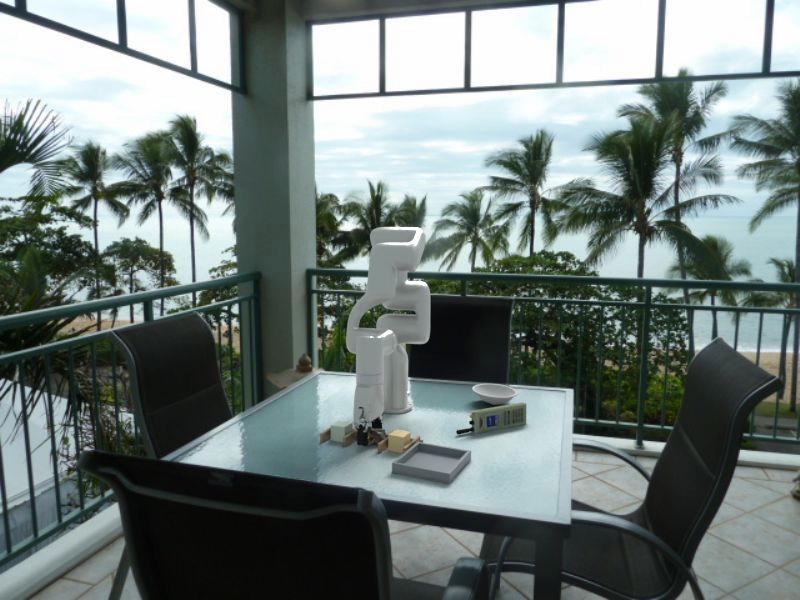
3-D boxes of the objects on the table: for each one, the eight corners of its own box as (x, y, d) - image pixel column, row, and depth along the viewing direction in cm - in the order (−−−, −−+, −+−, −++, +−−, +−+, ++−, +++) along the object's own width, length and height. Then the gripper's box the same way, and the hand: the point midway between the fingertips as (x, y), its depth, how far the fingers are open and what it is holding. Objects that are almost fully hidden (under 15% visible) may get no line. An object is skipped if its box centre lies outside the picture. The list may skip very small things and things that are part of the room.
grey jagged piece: (365, 453, 160) (366, 431, 158) (353, 443, 165) (353, 421, 163) (390, 445, 164) (390, 423, 162) (377, 434, 169) (377, 413, 167)
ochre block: (395, 445, 164) (395, 429, 163) (410, 447, 162) (410, 432, 161) (388, 450, 160) (388, 434, 159) (403, 453, 158) (403, 437, 157)
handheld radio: (528, 425, 182) (460, 438, 170) (520, 422, 184) (454, 435, 173) (528, 403, 181) (460, 415, 169) (521, 401, 184) (453, 412, 172)
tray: (417, 450, 160) (417, 441, 159) (470, 459, 153) (471, 450, 153) (392, 472, 145) (392, 462, 145) (449, 484, 139) (449, 473, 139)
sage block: (338, 435, 171) (338, 420, 171) (352, 437, 169) (352, 422, 169) (330, 440, 167) (330, 425, 167) (344, 442, 165) (344, 427, 165)
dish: (526, 409, 196) (527, 394, 196) (488, 414, 191) (489, 399, 190) (499, 395, 212) (499, 381, 212) (463, 399, 207) (463, 385, 207)
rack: (341, 429, 176) (341, 420, 176) (423, 442, 165) (423, 434, 165) (320, 442, 165) (319, 433, 165) (405, 457, 155) (405, 448, 154)
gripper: (372, 370, 172) (372, 428, 174) (341, 384, 156) (342, 448, 158) (395, 373, 168) (395, 432, 171) (367, 387, 153) (367, 453, 155)
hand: (369, 440), depth 164 cm, fingers closed on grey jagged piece, 7 cm apart
